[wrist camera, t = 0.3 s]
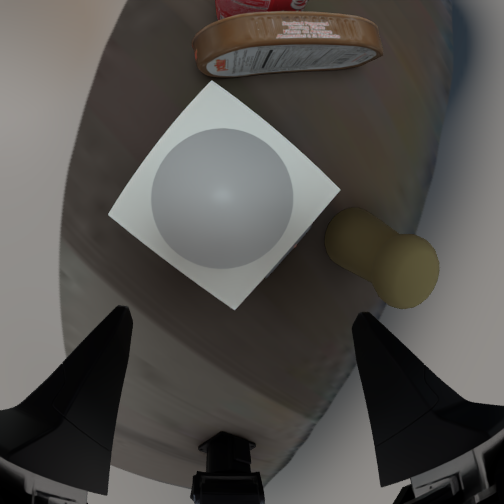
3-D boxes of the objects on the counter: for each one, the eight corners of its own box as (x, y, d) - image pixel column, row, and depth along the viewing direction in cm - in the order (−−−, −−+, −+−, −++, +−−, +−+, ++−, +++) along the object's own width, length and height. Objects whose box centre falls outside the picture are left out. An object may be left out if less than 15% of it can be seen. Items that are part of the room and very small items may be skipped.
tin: (352, 50, 20) (395, 16, 12) (359, 77, 21) (407, 50, 13) (196, 60, 19) (184, 15, 11) (201, 90, 20) (189, 53, 12)
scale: (237, 302, 26) (238, 318, 23) (116, 211, 23) (103, 216, 20) (335, 191, 24) (348, 194, 21) (212, 87, 20) (211, 76, 17)
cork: (385, 250, 26) (454, 293, 16) (337, 277, 27) (392, 337, 16) (367, 197, 24) (444, 219, 14) (314, 224, 25) (372, 264, 14)
